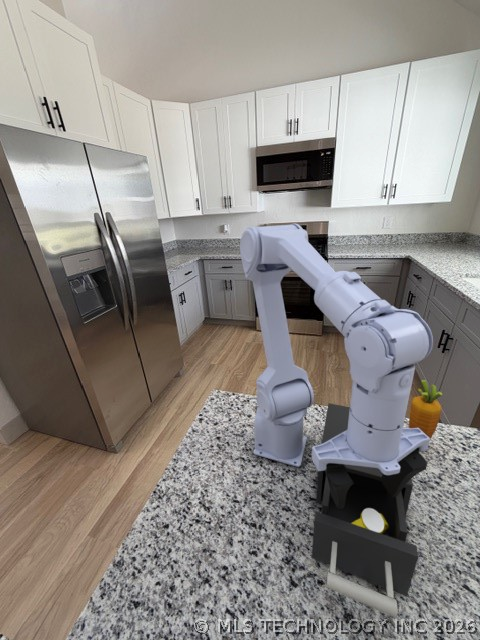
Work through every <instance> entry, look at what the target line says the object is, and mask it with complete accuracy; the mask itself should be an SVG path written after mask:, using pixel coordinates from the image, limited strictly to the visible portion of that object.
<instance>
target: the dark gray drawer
mask: <svg viewBox="0 0 480 640" xmlns="http://www.w3.org/2000/svg"><path fill="white" fill-rule="evenodd" d="M346 472H347V471H346ZM347 473H348V475H349V476H350V478H351V480H352V481H353V483H354V484H353V485H351V487H350V488H349V490H348V492H347V494H346V500H345V505H344V507H343V508H342V509H337V507H336V505H335V503H334V501H333V499H332V497H331V493H330V487H329V483H328V479H327V476H326V479H325V487H324V495H323V502H322V505H321V512H319V511H316V510H315V512H314V517H313V531H312V532H313V533H312V547H311V559H313V560H316V561H318V562H320V563H323V564H325V565H327V566H329V571H328V572H327V577H326V589H329V590H330V591H333V592H336V593H338V594H340V595H342V596H345V597H347V598H349V599H352V600H354V601H356V602H358V603H361V604H363V605H364V606H367V607H370V608H372V609H375V610H377V611H379V612H381V613H383V614H385V615H388V616H390V617H393V618H396V619H398V611H399V610H398V601H397V600H396V599H395V596H394V593H396V594H398V595H401V596H403V597H408V595H409V592H410V591H409V590H410V587H411V584H412V581H413V577H414V573H415V569H416V566H417V563H418V558H419V552H418V547H417V545H415V544H413V543H410V542H407V541H406V540H407V537H408V526H407V520H406V517H405V512H404V505H403V498H402V491H401V492H400V493H399V494H398V495H397V496H396V497H393V498H392V497H391V495H390V494H389V493H388V491H387V490H386V489H385V487H384V486H383V484H382V481H379V480H376V479H372V478H368V477H365V476H361V475H358V474H354V473H351V472H347ZM366 508H371V509H374V510H376V511H377V512H378V513H381V514H382V515H383V517H384V519H385V520H386V522H387V524H388V526H389V527H388V529H387V530H386V531H385V532H384V533H382V534H381V533H378V532H375V531H372V530H369V529H366V528H363V527H360V526H357V525H354V524H352V522H355V521H356V520H358V519H360V517H361V513H362V512H363V510H364V509H366ZM336 570H340V571H343V572H345V573H347V574H349V575H352V576H355V577H357V578H359V579H362V580H365V581H367V582H370V583H372V584H374V585H377V586H379V587H382V588H384V589H386V591H385V592H386V595H385V594H383V593H380V592H377V591H376V590H374V589H370V588H368V587H365V586H364V585H361V584H358V583H357V582H354V581H351V580H349V579H347V578H344V577H342V576H340V575H337V574H336Z"/></svg>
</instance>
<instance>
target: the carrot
mask: <svg viewBox="0 0 480 640" xmlns="http://www.w3.org/2000/svg"><path fill="white" fill-rule="evenodd" d="M420 384H421V386H422V388H423V390H424V391H423V390H422V389H421V388H418V389H417V390H418V392H419V393H420V395H418V396H414V397H412V400H411V406H410V411H409V418H408V429H409V428H419V429H420V430H421V431H422V432H423V433H425V434H426V435H427V436H428V437H429V438H430V440H431V439H432V437H433V435H434V434H435V432H436V430H437V427H438V425H439V421H440V418H441V414H442V404H440V402H439V401H437V399H438V398H440V397H442V396H443V393H442V392H441V391H437V386H436V385H435V384H431V385H430V387H429V384H428V381H427V380H425V379H422V380H421V381H420Z"/></svg>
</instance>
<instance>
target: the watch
mask: <svg viewBox="0 0 480 640" xmlns="http://www.w3.org/2000/svg"><path fill="white" fill-rule="evenodd" d="M352 524H354V525H357V526H360V527H363V528H366V529H369V530H372V531H375V532H378V533H381V534H382V533H384V532H385V531H386V530H387V529H388V527H389V526H388V524H387V522H386V520H385V519H384V517H383V515H382V514H381V513H378V512H377V511H376V510H374V509H371V508H366V509H364V510H363V512H362V513H361V517H360V519H358V520H356V521H355V522H352Z"/></svg>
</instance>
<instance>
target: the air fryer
mask: <svg viewBox="0 0 480 640" xmlns="http://www.w3.org/2000/svg"><path fill="white" fill-rule="evenodd" d="M349 411H350V406H345V405H341V404H340V405H339V404H335V403H330V402H328V403H327V410H326V413H325V421H324V426H323V433H322V438H321V444H323V443H325V442H327V441H328V440H330V439H332V438H334V437H335V436H337V435H339V434H341V433H342V432H344V431H346V430H347V429H348V420H349ZM344 465H345V464H344ZM345 467H346V471H347V472H351V473H354V474H358V475H361V476H365V477H368V478H372V479H376V480H379V481H382V472H381V471H380V469H378V468H373V467H364V466H355V465H345ZM325 479H326V473H325V471H318V470H317V479H316V493H315V495H316V496H315V497H316V498H315V504H317V505H319V506H322V502H323V495H324V487H325ZM413 489H414V482H413V478H411V479H410V480H409V481H408V482H407V484H406V485H405V486H404V487H403V489H402V490H401V491H402V498H403V505H404V512H405V518H406V517H407V513H408V509H409V505H410V502H411V501H410V500H411V497H412V492H413Z"/></svg>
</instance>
